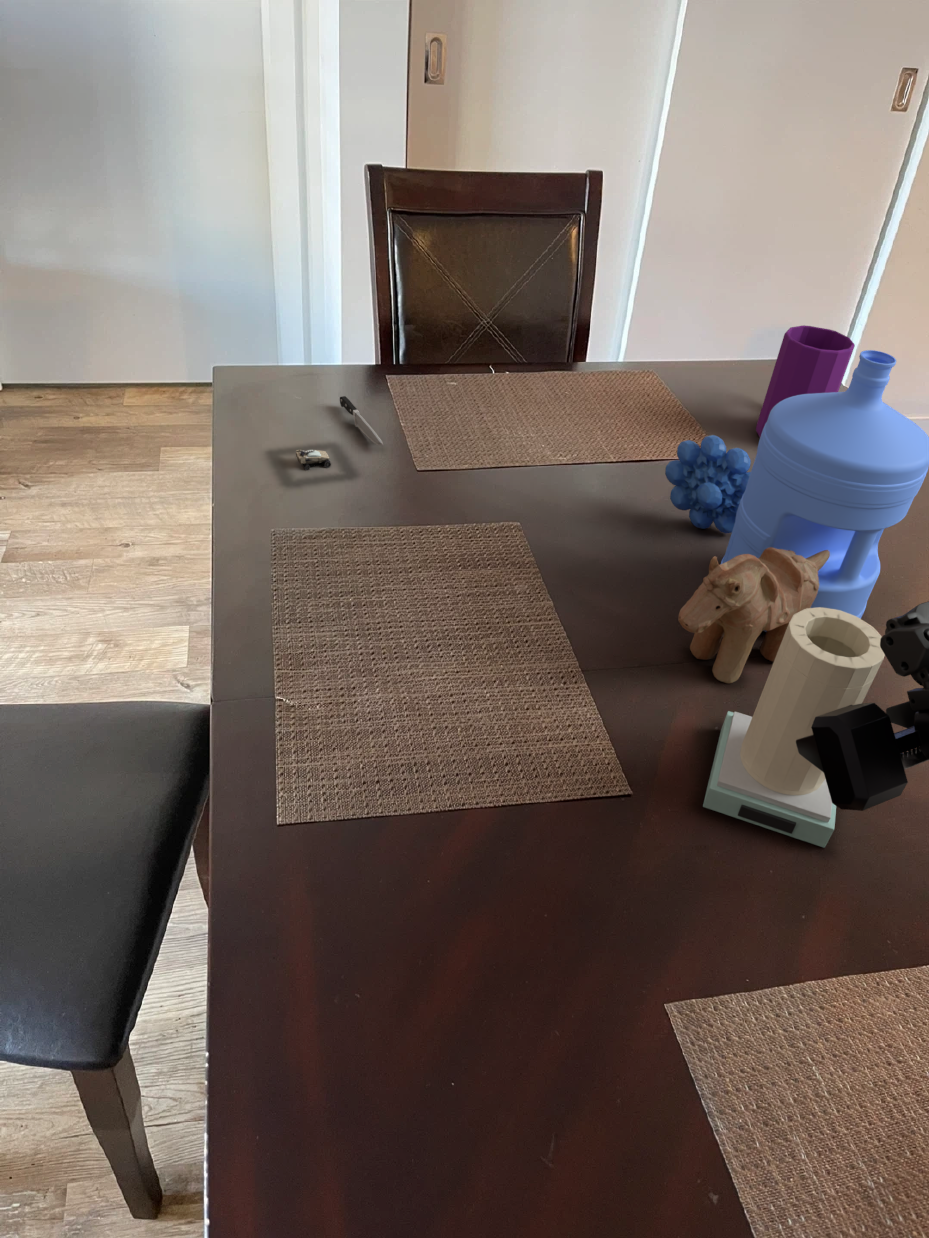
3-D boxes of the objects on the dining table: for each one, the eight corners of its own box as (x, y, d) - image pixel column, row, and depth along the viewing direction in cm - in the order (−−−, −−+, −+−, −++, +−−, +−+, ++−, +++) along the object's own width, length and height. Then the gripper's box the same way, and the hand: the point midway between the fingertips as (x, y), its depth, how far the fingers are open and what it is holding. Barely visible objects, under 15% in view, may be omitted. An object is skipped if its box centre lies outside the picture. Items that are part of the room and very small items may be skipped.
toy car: (331, 467, 115) (331, 453, 114) (299, 471, 114) (299, 457, 112) (325, 457, 117) (325, 443, 115) (294, 461, 115) (293, 447, 114)
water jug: (687, 569, 103) (756, 329, 86) (800, 550, 108) (888, 319, 90) (767, 657, 92) (866, 402, 74) (889, 632, 97) (1009, 387, 79)
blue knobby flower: (645, 532, 109) (667, 442, 101) (658, 505, 114) (680, 418, 106) (743, 559, 106) (772, 468, 98) (751, 530, 111) (780, 442, 103)
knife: (385, 455, 118) (386, 441, 117) (380, 456, 118) (380, 442, 117) (344, 407, 128) (344, 394, 127) (339, 408, 128) (339, 394, 127)
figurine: (636, 669, 89) (669, 543, 80) (761, 619, 97) (805, 498, 88) (687, 717, 84) (729, 588, 75) (814, 660, 92) (866, 537, 83)
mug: (753, 446, 128) (785, 344, 119) (755, 401, 140) (784, 305, 131) (820, 459, 127) (857, 356, 117) (816, 413, 139) (850, 316, 129)
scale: (824, 850, 73) (836, 827, 72) (701, 808, 76) (710, 785, 74) (832, 764, 81) (844, 741, 79) (721, 729, 83) (729, 705, 82)
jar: (841, 773, 76) (905, 646, 67) (789, 808, 73) (848, 680, 64) (775, 722, 80) (827, 596, 72) (722, 753, 77) (770, 625, 68)
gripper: (1097, 565, 59) (903, 602, 73) (887, 628, 52) (719, 656, 66) (1146, 732, 58) (941, 737, 73) (942, 820, 51) (760, 805, 65)
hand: (844, 730), depth 69 cm, fingers open, 9 cm apart
